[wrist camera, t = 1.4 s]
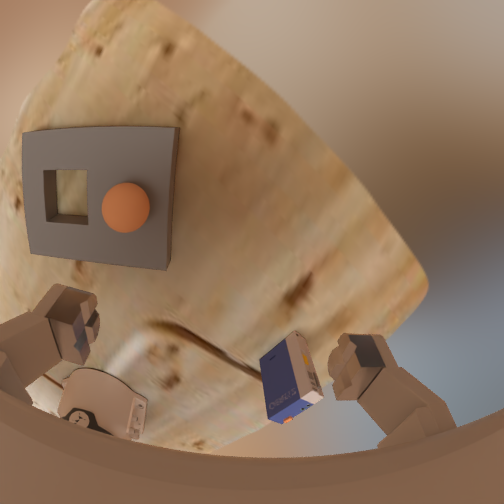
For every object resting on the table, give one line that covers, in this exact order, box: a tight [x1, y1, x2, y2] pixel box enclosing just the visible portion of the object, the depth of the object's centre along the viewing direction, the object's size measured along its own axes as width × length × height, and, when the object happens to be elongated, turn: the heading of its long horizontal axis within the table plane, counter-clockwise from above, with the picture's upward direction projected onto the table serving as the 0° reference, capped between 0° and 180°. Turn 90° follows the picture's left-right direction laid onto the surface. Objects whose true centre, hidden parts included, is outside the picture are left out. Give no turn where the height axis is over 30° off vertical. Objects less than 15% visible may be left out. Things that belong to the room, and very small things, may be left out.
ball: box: [102, 183, 150, 233], centre depth 26 cm, size 5×5×5 cm
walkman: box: [260, 331, 324, 424], centre depth 38 cm, size 8×3×12 cm, turn 138°
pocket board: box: [22, 126, 180, 271], centre depth 29 cm, size 16×20×3 cm
